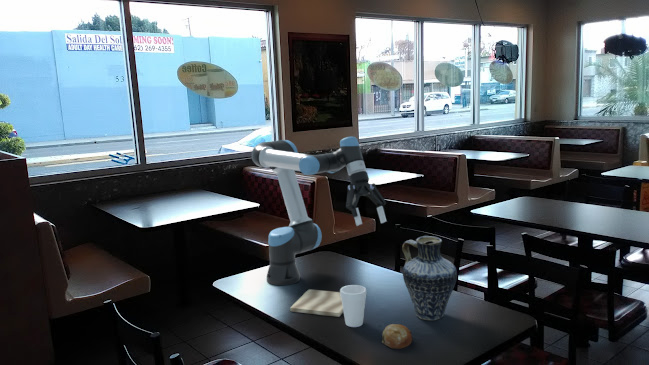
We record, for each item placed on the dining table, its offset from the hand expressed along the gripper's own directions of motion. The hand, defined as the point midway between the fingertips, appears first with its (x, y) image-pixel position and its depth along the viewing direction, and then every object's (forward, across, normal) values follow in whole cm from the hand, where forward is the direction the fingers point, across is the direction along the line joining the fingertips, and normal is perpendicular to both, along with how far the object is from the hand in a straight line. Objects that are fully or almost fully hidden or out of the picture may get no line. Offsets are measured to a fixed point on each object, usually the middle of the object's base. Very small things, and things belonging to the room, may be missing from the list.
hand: (371, 223), depth 209 cm
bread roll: (+45, -16, -12) cm, 49 cm away
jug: (+40, +7, -8) cm, 41 cm away
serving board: (+25, -14, +25) cm, 38 cm away
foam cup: (+35, -17, +6) cm, 39 cm away
